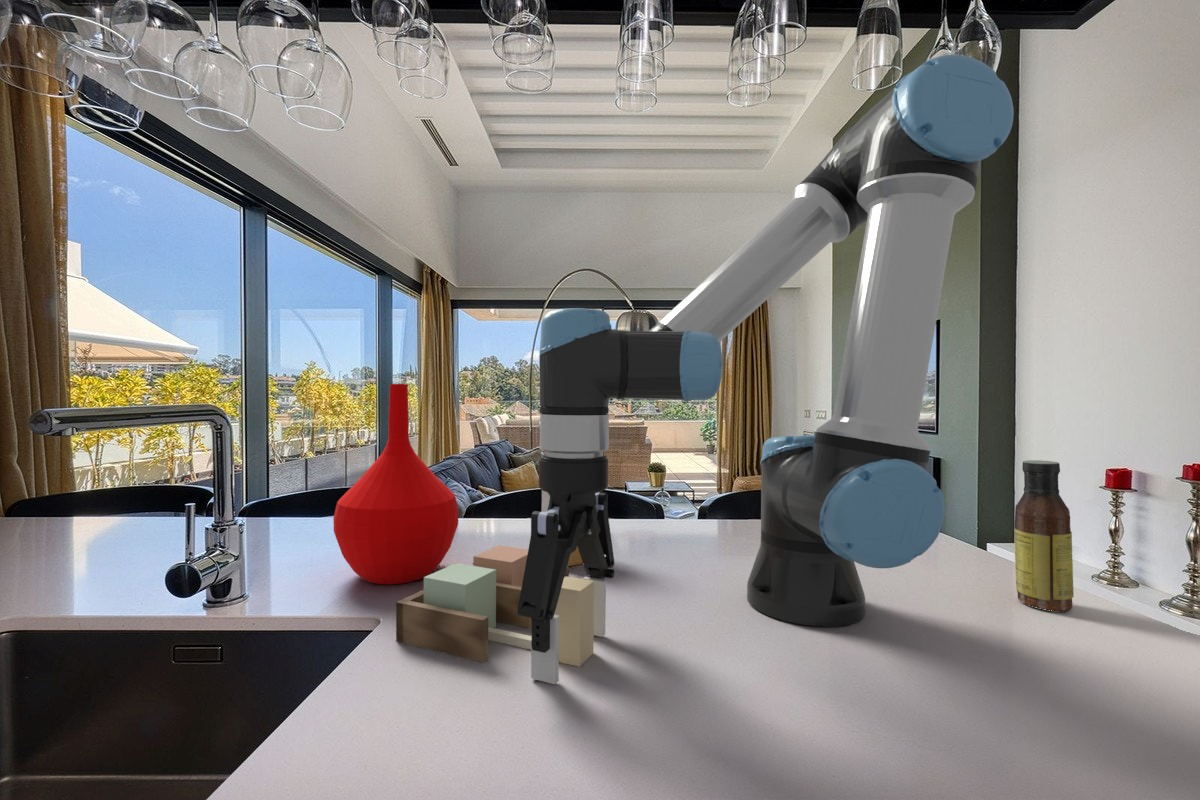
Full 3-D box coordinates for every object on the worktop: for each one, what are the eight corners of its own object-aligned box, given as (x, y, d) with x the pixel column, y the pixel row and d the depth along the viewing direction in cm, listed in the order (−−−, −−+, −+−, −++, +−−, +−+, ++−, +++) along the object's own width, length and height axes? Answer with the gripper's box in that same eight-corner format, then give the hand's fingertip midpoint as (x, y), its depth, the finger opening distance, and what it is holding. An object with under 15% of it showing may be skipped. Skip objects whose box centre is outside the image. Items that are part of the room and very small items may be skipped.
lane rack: (568, 599, 78) (568, 567, 78) (482, 662, 59) (482, 620, 59) (496, 586, 82) (496, 556, 82) (396, 641, 64) (396, 602, 64)
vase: (406, 603, 76) (407, 383, 75) (304, 585, 82) (304, 382, 82) (480, 564, 93) (481, 385, 93) (391, 552, 99) (391, 384, 99)
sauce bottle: (1064, 601, 78) (1067, 460, 78) (1080, 617, 73) (1083, 465, 73) (1007, 594, 81) (1010, 457, 81) (1019, 609, 76) (1022, 462, 75)
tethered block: (598, 648, 63) (598, 577, 63) (574, 672, 57) (574, 594, 57) (456, 617, 71) (456, 555, 71) (423, 636, 65) (423, 568, 65)
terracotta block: (535, 600, 77) (535, 550, 77) (511, 616, 72) (511, 562, 72) (499, 594, 80) (499, 545, 80) (473, 608, 74) (473, 556, 74)
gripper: (588, 443, 73) (586, 610, 73) (480, 463, 51) (478, 700, 52) (642, 446, 70) (640, 620, 70) (551, 468, 48) (549, 720, 49)
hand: (571, 654), depth 61 cm, fingers open, 11 cm apart
